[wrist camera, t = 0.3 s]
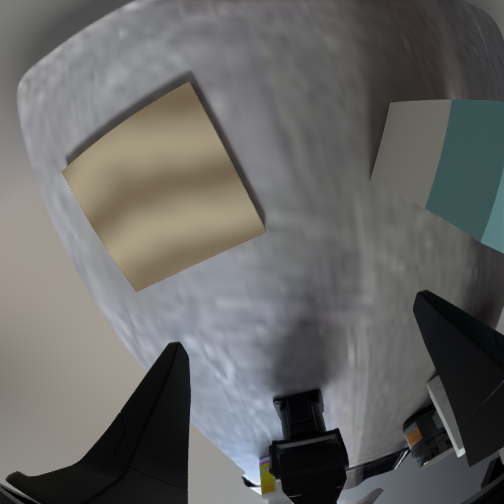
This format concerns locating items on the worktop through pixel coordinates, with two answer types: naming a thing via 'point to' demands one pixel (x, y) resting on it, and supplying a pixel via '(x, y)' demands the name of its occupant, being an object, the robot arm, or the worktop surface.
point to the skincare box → (445, 413)
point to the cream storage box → (412, 147)
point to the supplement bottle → (271, 485)
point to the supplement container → (427, 437)
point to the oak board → (163, 190)
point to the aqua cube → (472, 172)
